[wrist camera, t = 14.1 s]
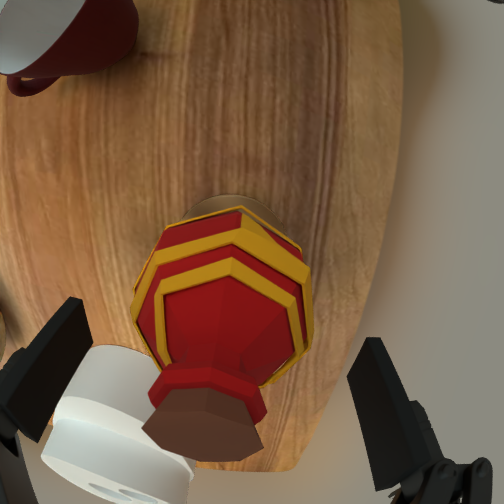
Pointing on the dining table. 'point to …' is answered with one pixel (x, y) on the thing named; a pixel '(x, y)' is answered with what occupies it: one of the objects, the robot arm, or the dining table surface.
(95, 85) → the dining table surface
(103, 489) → the white stepped block
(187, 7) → the dining table surface
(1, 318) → the cantaloupe
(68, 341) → the robot arm
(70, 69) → the mug
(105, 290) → the dining table surface
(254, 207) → the coaster
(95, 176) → the dining table surface
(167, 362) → the potion bottle
